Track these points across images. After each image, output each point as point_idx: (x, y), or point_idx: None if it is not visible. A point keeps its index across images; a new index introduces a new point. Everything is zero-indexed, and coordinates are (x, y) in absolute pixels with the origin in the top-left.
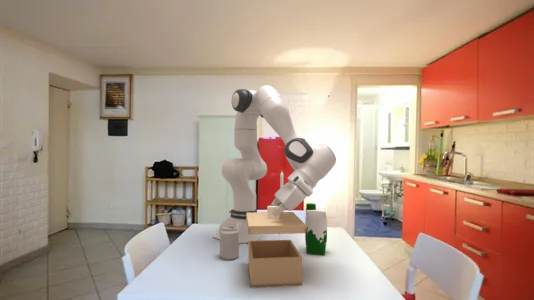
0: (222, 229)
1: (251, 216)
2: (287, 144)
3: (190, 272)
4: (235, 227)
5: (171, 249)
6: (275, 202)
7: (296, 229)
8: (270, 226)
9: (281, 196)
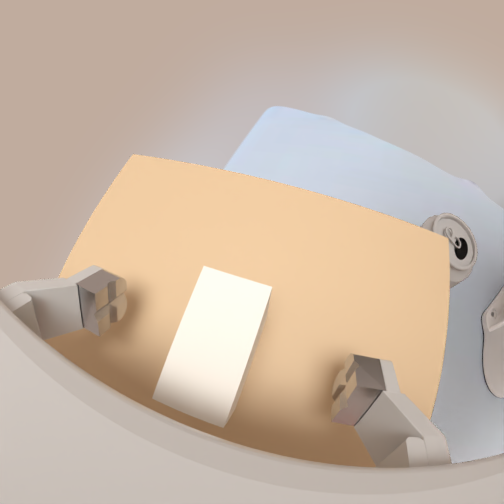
0: (446, 217)
1: (342, 225)
2: None
3: (330, 179)
4: (463, 265)
5: (451, 177)
6: (398, 445)
7: None
8: (78, 244)
9: (25, 399)
